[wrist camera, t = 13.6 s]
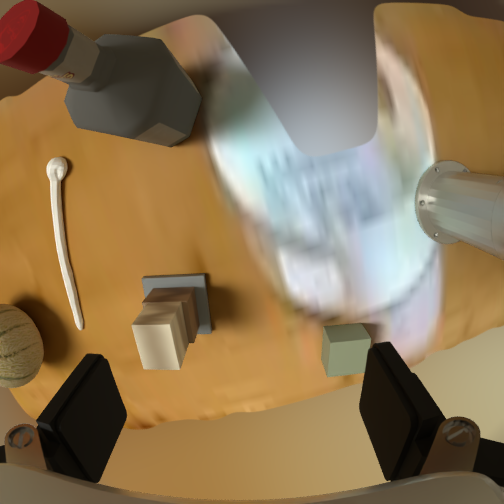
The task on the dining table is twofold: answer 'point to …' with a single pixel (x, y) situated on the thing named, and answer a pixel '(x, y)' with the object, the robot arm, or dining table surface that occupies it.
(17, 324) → the cantaloupe
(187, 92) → the liquor
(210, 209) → the dining table surface
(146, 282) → the slate board
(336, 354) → the olive block
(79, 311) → the knobbed tapering rod
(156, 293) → the walnut block
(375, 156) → the dining table surface
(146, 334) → the birch block
